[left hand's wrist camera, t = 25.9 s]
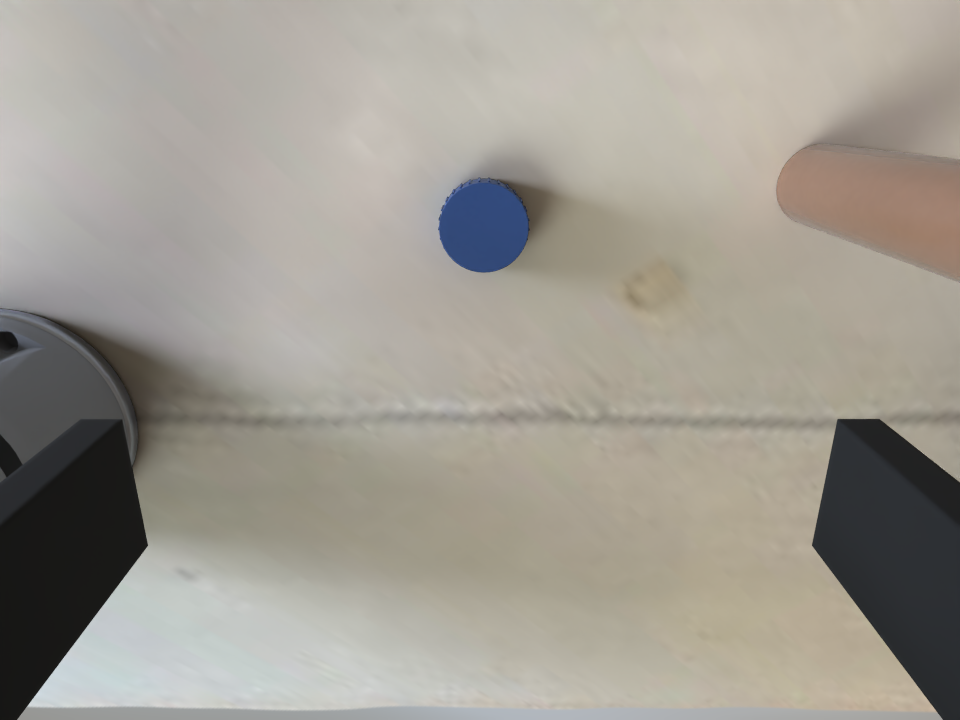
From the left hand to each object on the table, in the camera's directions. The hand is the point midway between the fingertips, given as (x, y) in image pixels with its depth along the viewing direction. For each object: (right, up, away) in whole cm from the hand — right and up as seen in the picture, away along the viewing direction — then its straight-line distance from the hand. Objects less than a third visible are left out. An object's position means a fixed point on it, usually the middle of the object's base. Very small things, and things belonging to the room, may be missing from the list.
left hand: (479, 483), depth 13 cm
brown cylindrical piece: (+20, +13, +28) cm, 36 cm away
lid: (0, +10, +27) cm, 28 cm away
